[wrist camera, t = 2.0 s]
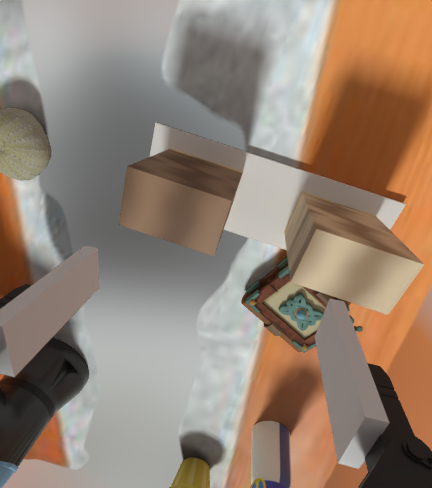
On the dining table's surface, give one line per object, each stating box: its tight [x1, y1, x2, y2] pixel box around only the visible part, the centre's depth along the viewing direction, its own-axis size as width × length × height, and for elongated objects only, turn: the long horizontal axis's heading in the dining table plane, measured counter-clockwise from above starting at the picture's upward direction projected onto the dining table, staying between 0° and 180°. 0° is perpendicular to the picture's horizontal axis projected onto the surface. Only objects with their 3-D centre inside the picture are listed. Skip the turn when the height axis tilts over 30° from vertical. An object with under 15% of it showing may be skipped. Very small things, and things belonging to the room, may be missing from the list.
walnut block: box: [119, 149, 243, 256], centre depth 34 cm, size 10×6×13 cm, turn 74°
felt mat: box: [150, 123, 406, 250], centre depth 40 cm, size 33×11×1 cm, turn 74°
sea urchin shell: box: [0, 107, 51, 180], centre depth 40 cm, size 9×8×8 cm
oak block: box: [284, 192, 424, 315], centre depth 33 cm, size 10×6×13 cm, turn 74°
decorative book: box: [242, 257, 362, 353], centre depth 44 cm, size 13×18×5 cm
